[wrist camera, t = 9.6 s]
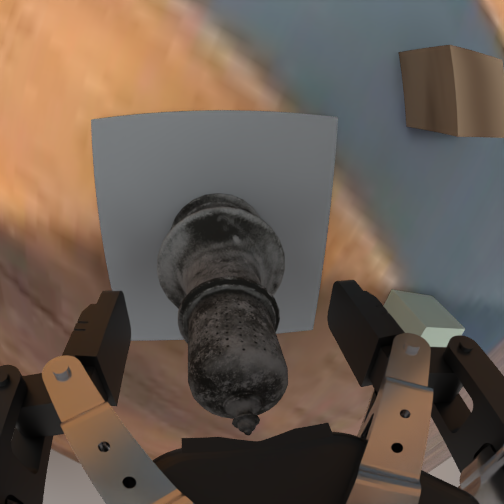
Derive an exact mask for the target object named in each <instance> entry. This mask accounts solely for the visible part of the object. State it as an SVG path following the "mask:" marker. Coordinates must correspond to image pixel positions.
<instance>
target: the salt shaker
mask: <svg viewBox="0 0 504 504" xmlns="http://www.w3.org/2000/svg"><path fill="white" fill-rule="evenodd" d="M284 271H285V253H284V250H283V248H282V245H281V242H280V239H279V237H278V236H277V235H276V233H275V232H274V231H273V229H272V228H271V226H270V225H269V224H267V223H266V222H265V221H263V220H262V219H261V218H260V216H259V215H258V214H257V212H256V211H255V209H254V208H253V207H252V206H251V205H249V204H248V203H247V202H246V201H244V200H243V199H241V198H238V197H236V196H233V195H230V194H222V193H214V194H207V195H203V196H201V197H198V198H196V199H193V200H192V201H191V202H189V203H188V204H187V205H185V206H184V207H183V208H182V209H181V210H180V212H179V213H178V214H177V216H176V217H175V219H174V222H173V224H172V227H171V230H170V232H169V233H168V234H167V236H166V237H165V239H164V240H163V242H162V245H161V248H160V251H159V254H158V259H157V274H158V278H159V282H160V286H161V288H162V289H163V291H164V293H165V294H166V296H167V298H168V299H169V300H170V301H171V302H172V303H173V304H174V305H175V306H176V307H177V308H178V309H179V310H178V327H179V330H180V333H181V335H182V337H183V338H184V340H185V341H186V343H188V383H189V386H190V389H191V392H192V395H193V397H194V399H195V400H196V401H197V402H198V403H199V404H200V405H201V406H202V407H203V408H204V409H206V410H207V411H209V412H211V413H212V414H215V415H218V416H220V417H226V418H234V419H233V422H232V424H233V425H234V427H236V428H238V429H239V430H240V431H241V432H244V433H245V434H246V435H250V434H251V433H252V431H253V430H254V429H255V427H256V425H257V424H259V421H260V419H259V417H258V416H257V415H259V414H262V413H264V412H266V411H268V410H270V409H271V408H272V407H274V406H275V405H276V404H277V403H278V402H279V400H280V399H281V398H282V396H283V394H284V393H285V390H286V388H287V385H288V370H287V365H286V362H285V359H284V357H283V354H282V351H281V348H280V345H279V342H278V339H277V336H276V331H277V329H278V325H279V321H280V313H279V308H278V305H277V303H276V300H275V298H274V297H273V296H274V295H275V293H276V291H277V290H278V288H279V286H280V284H281V282H282V279H283V275H284Z"/></svg>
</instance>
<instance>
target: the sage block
mask: <svg viewBox="0 0 504 504" xmlns="http://www.w3.org/2000/svg"><path fill="white" fill-rule="evenodd" d="M383 307H385V308H386V310H387V311H388V313H390V315H391V316H392V317H393V318H394V320H395V321H396V322H397V323H398V325H399V326H400V327H401V328H402V330H403V331H404V332H405V333H412V334H416V335H418V336H420V337H422V338H424V339H425V340H426V341H427V342H428V343H429V345H430V347H447V345H448V342H449V340H450V339H451V338H452V337H453V336H458V335H462V333H463V332H464V330H465V328H464V327H463V326H462V325H461V324H460V323H459V322H458V321H457V320H456V319H455V318H454V317H453V316H452V315H451V314H450V313H449V312H448V311H447V310H446V309H445V308H444V307H443V306H442V305H441V304H440V303H439V302H438V301H437V300H436V299H435V298H434V297H433V296H429V295H423V294H417V293H411V292H405V291H399V290H393V289H392V290H391V292H390V294H389V296H388V298H387V300H386V302H385V304H384V306H383Z"/></svg>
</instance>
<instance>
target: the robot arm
mask: <svg viewBox="0 0 504 504" xmlns="http://www.w3.org/2000/svg"><path fill="white" fill-rule="evenodd" d="M328 325H329V328H330V330H331V332H332V334H333V336H334V338H335V340H336V341H337V343H338V345H339V347H340V349H341V351H342V353H343V354H344V356H345V358H346V360H347V362H348V364H349V366H350V368H351V369H352V371H353V373H354V375H355V377H356V379H357V381H358V383H359V385H360V386H361V387H364V386H369V385H373V387H374V390H373V393H372V395H371V398H370V401H369V404H368V407H367V410H366V413H365V416H364V419H363V422H362V425H361V428H360V430H359V433H358V435H357V436H354V435H351V434H346V433H339V432H332V431H331V429H330V426H329V424H328V423H324V424H319V425H314V426H308V427H302V428H296V429H293V430H290V431H287V432H285V433H282V434H279V435H277V436H274V437H271V438H268V439H266V440H263V441H246V440H237V439H230V438H222V437H209V438H182V448H180V449H176V450H173V451H170V452H168V453H165V454H163V455H161V456H159V457H158V458H156V459H154V460H153V461H152V460H151V459H150V458H149V456H148V455H147V454H146V453H145V451H144V450H143V449H142V448H141V446H140V445H139V444H138V443H137V441H136V440H135V439H134V438H133V436H132V435H131V434H130V432H129V431H128V430H127V428H126V427H125V426H124V424H123V423H122V421H121V420H120V419H119V417H118V416H117V414H116V413H115V412H114V410H113V409H112V407H111V406H117V403H118V398H119V393H120V387H121V382H122V378H123V373H124V368H125V363H126V359H127V354H128V350H129V346H130V341H131V325H130V320H129V316H128V311H127V307H126V302H125V297H124V294H123V292H122V291H103V292H102V293H101V295H100V297H99V300H98V302H97V304H90V305H89V306H88V307H87V308H86V309H85V310H84V311H83V312H82V313H81V315H80V317H79V319H78V323H76V326H75V328H74V331H73V332H72V334H71V337H70V339H69V341H68V343H67V345H66V348H65V350H64V352H63V355H62V356H59V357H56V358H54V359H52V360H51V361H49V362H48V363H47V364H46V365H45V367H44V368H43V371H42V373H40V374H34V375H28V376H22V375H21V373H20V372H19V370H18V369H17V368H16V367H15V366H12V365H3V366H0V504H42V502H43V494H44V486H45V479H46V473H47V466H48V461H49V455H50V450H51V444H52V439H53V435H60V434H65V436H66V438H67V440H68V442H69V443H70V445H71V447H72V449H73V451H74V453H75V455H76V456H77V458H78V460H79V462H80V464H81V465H82V467H83V469H84V470H85V472H86V474H87V475H88V477H89V479H90V480H91V482H92V483H93V485H94V486H95V488H96V490H97V491H98V493H99V494H100V496H101V497H102V499H103V500H104V502H105V503H106V504H504V376H503V375H502V374H501V372H500V371H499V370H498V368H497V367H496V366H495V365H494V363H493V362H492V361H491V360H490V358H489V357H488V356H487V355H486V354H485V352H484V351H483V350H482V349H481V348H480V346H479V345H478V344H477V343H476V342H475V341H474V340H472V339H470V338H468V337H466V336H461V335H458V336H453V337H452V338H451V339H450V340H449V342H448V345H447V347H430V345H429V343H428V342H427V341H426V340H425V339H424V338H422V337H420V336H418V335H416V334H412V333H405V332H404V331H403V330H402V328H401V327H400V326H399V325H398V323H397V322H396V321H395V320H394V318H393V317H392V316H391V315H390V313H388V311H387V310H386V308H385V307H383V305H382V304H381V302H380V301H379V300H378V299H377V298H376V297H375V296H373V295H372V294H370V293H369V292H367V291H363V290H362V289H361V287H360V286H359V285H358V284H357V283H356V281H355V280H345V281H336V282H335V283H334V285H333V289H332V294H331V300H330V305H329V310H328ZM463 386H464V388H465V389H466V391H467V392H468V394H469V395H470V397H471V398H472V400H473V411H472V413H471V412H470V410H469V409H468V407H467V406H466V404H465V402H464V401H463V399H462V398H461V396H460V395H459V391H460V390H461V388H462V387H463ZM431 417H432V419H433V421H434V423H435V424H436V426H437V428H438V430H439V432H440V434H441V436H442V437H443V439H444V441H445V443H446V445H447V447H448V449H449V451H450V453H451V455H452V457H453V459H454V460H455V463H456V465H457V467H458V469H459V471H460V473H461V476H460V486H459V487H458V488H457V487H455V486H453V485H451V484H449V483H447V482H444V481H442V480H440V479H438V478H436V477H434V476H432V475H430V474H428V473H426V472H424V471H422V465H423V460H424V455H425V450H426V444H427V438H428V432H429V425H430V418H431ZM13 433H14V434H13ZM12 437H13V438H12Z"/></svg>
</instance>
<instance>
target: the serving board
mask: <svg viewBox="0 0 504 504" xmlns="http://www.w3.org/2000/svg"><path fill="white" fill-rule="evenodd" d="M337 125H338V117H332V116H323V115H313V114H301V113H287V112H269V111H234V110H214V111H179V112H161V113H147V114H136V115H126V116H116V117H108V118H100V119H93V120H91V128H92V149H93V164H94V176H95V187H96V196H97V205H98V213H99V220H100V227H101V234H102V240H103V246H104V252H105V258H106V264H107V269H108V274H109V279H110V284H111V289H112V291H122V292H123V294H124V297H125V302H126V307H127V311H128V316H129V320H130V325H131V340H184V338H183V337H182V335H181V333H180V330H179V327H178V310H179V309H178V308H177V307H176V306H175V305H174V304H173V303H172V302H171V301H170V300H169V299H168V298H167V296H166V294H165V293H164V291H163V289H162V288H161V286H160V282H159V278H158V274H157V259H158V254H159V251H160V248H161V245H162V242H163V240H164V239H165V237H166V236H167V234H168V233H169V232H170V230H171V227H172V224H173V222H174V219H175V217H176V216H177V214H178V213H179V212H180V210H181V209H182V208H183V207H184V206H185V205H187V204H188V203H189V202H191V201H192V200H193V199H196V198H198V197H201V196H203V195H207V194H214V193H222V194H230V195H233V196H236V197H238V198H241V199H243V200H244V201H246V202H247V203H248V204H249V205H251V206H252V207H253V208H254V209H255V211H256V212H257V214H258V215H259V216H260V218H261V219H262V220H263V221H265V222H266V223H267V224H269V225H270V226H271V228H272V229H273V231H274V232H275V233H276V235H277V236H278V237H279V239H280V242H281V245H282V248H283V250H284V253H285V271H284V275H283V279H282V282H281V284H280V286H279V288H278V290H277V291H276V293H275V295H274V296H273V297H274V298H275V300H276V303H277V305H278V308H279V313H280V321H279V325H278V329H277V331H276V334H277V333H287V332H297V331H306V330H313V326H314V320H315V314H316V308H317V302H318V296H319V289H320V283H321V276H322V269H323V262H324V255H325V248H326V240H327V232H328V224H329V215H330V206H331V197H332V187H333V176H334V165H335V153H336V140H337Z"/></svg>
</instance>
